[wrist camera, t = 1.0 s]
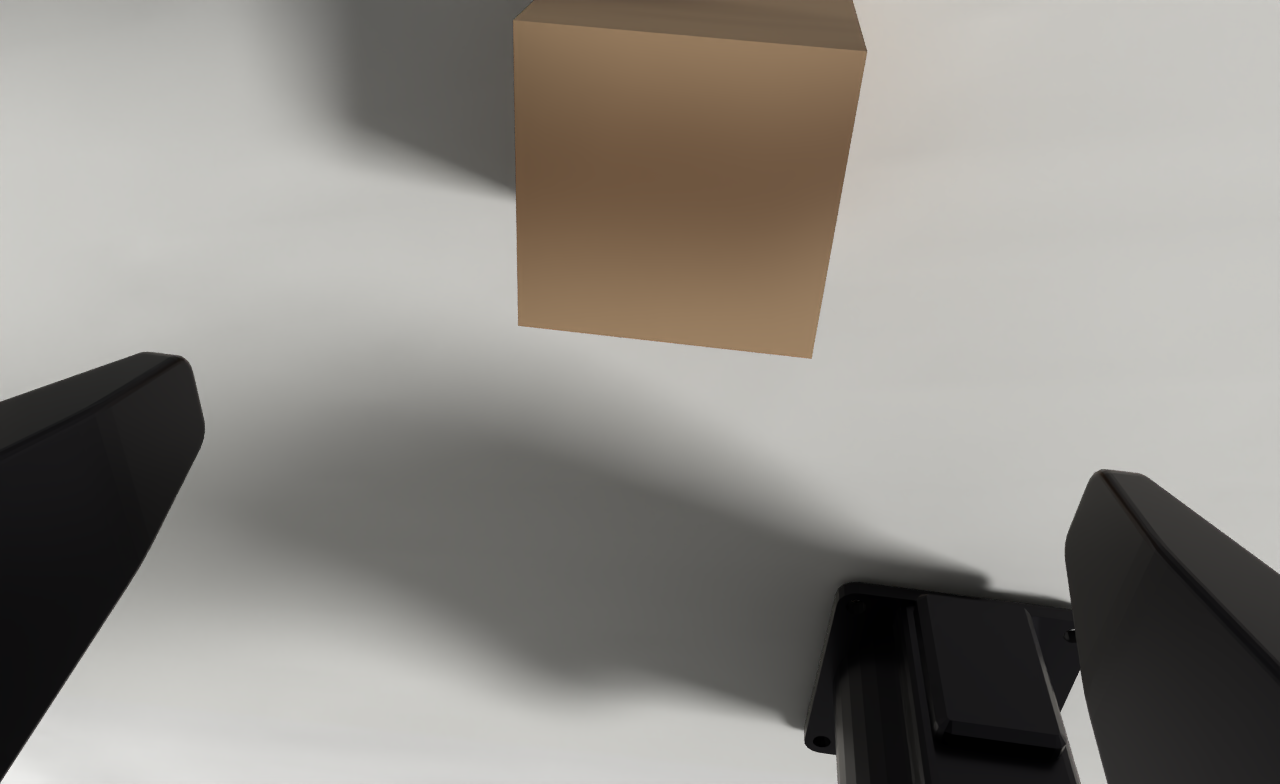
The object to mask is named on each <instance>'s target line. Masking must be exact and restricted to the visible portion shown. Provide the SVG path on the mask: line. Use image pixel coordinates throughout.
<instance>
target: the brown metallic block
mask: <svg viewBox="0 0 1280 784" xmlns="http://www.w3.org/2000/svg"><path fill="white" fill-rule="evenodd" d="M513 49H514V107H515V165H516V223H517V281H518V326H525V327H534V328H543V329H552V330H561V331H570V332H579V333H588V334H597V335H605V336H614V337H623V338H632V339H641V340H650V341H659V342H668V343H677V344H686V345H694V346H703V347H712V348H721V349H730V350H739V351H748V352H757V353H766V354H775V355H783V356H792V357H801V358H810V359H812V353H813V347H814V342H815V336H816V331H817V325H818V320H819V314H820V309H821V303H822V298H823V292H824V287H825V281H826V276H827V270H828V265H829V259H830V254H831V248H832V243H833V237H834V232H835V226H836V221H837V215H838V209H839V204H840V198H841V193H842V187H843V182H844V176H845V171H846V165H847V160H848V154H849V149H850V143H851V138H852V132H853V127H854V121H855V116H856V110H857V105H858V99H859V94H860V88H861V83H862V77H863V71H864V66H865V60H866V55H867V49H866V46H865V42H864V39H863V35H862V32H861V28H860V25H859V21H858V18H857V14H856V11H855V7H854V4H853V0H534V1H533V2H532V3H531V4H530V5H529V6H528V7H527V8H525V9H524V10H523V11H522V12H521V13H520V14H519V15H518V16H517V17H516V18H515V19H514V20H513Z"/></svg>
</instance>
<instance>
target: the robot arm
mask: <svg viewBox="0 0 1280 784" xmlns="http://www.w3.org/2000/svg"><path fill="white" fill-rule="evenodd" d="M204 433H205V423H204V417H203V413H202V409H201V404H200V400H199V396H198V391H197V387H196V383H195V378H194V374H193V370H192V367H191V365H190V364H189V362H188V361H187V360H186V359H185V358H183V357H182V356H179V355H171V354H163V353H155V352H141V353H138V354H135V355H132V356H129V357H127V358H124V359H121V360H118V361H115V362H112V363H109V364H107V365H104V366H101V367H98V368H95V369H92V370H89V371H87V372H84V373H81V374H78V375H75V376H72V377H69V378H67V379H64V380H61V381H58V382H55V383H52V384H49V385H47V386H44V387H41V388H38V389H35V390H32V391H30V392H27V393H24V394H21V395H18V396H15V397H12V398H10V399H7V400H4V401H1V402H0V782H1V781H2V779H3V778H4V776H5V775H6V773H7V772H8V770H9V769H10V767H11V765H12V764H13V762H14V761H15V759H16V758H17V756H18V755H19V753H20V752H21V750H22V749H23V747H24V745H25V744H26V742H27V741H28V739H29V738H30V736H31V735H32V733H33V732H34V730H35V729H36V727H37V725H38V724H39V722H40V721H41V719H42V718H43V716H44V715H45V713H46V712H47V710H48V709H49V707H50V705H51V704H52V702H53V701H54V699H55V698H56V696H57V695H58V693H59V692H60V690H61V689H62V687H63V685H64V684H65V682H66V681H67V679H68V678H69V676H70V675H71V673H72V672H73V670H74V669H75V667H76V665H77V664H78V662H79V661H80V659H81V658H82V656H83V655H84V653H85V652H86V650H87V649H88V647H89V645H90V644H91V642H92V641H93V639H94V638H95V636H96V635H97V633H98V632H99V630H100V629H101V627H102V625H103V624H104V622H105V621H106V619H107V618H108V616H109V615H110V613H111V612H112V610H113V609H114V607H115V605H116V604H117V602H118V601H119V599H120V598H121V596H122V595H123V593H124V592H125V590H126V589H127V587H128V585H129V584H130V582H131V581H132V579H133V577H134V576H135V574H136V572H137V571H138V569H139V567H140V566H141V564H142V562H143V560H144V558H145V557H146V555H147V553H148V551H149V549H150V548H151V546H152V544H153V542H154V540H155V538H156V536H157V534H158V532H159V530H160V528H161V526H162V524H163V522H164V520H165V518H166V516H167V514H168V512H169V510H170V508H171V506H172V504H173V502H174V500H175V498H176V496H177V494H178V492H179V490H180V488H181V486H182V484H183V482H184V480H185V478H186V476H187V474H188V472H189V470H190V468H191V466H192V464H193V462H194V460H195V458H196V456H197V454H198V452H199V450H200V448H201V445H202V442H203V439H204ZM1065 563H1066V570H1067V577H1068V584H1069V591H1070V598H1071V605H1072V610H1070V609H1062V608H1054V607H1046V606H1039V605H1031V604H1023V603H1015V602H1008V601H1000V600H992V599H984V598H977V597H969V596H961V595H953V594H946V593H938V592H930V591H922V590H915V589H907V588H899V587H891V586H884V585H876V584H868V583H861V582H850V583H847V584H844V585H843V586H841V587H840V588H839V589H838V591H837V592H836V595H835V599H834V604H833V608H832V612H831V616H830V621H829V625H828V629H827V633H826V638H825V642H824V646H823V650H822V654H821V659H820V663H819V667H818V671H817V676H816V680H815V684H814V688H813V693H812V697H811V701H810V705H809V710H808V714H807V718H806V722H805V727H804V740H805V745H806V746H807V747H808V748H809V749H811V750H812V751H816V752H819V753H826V754H833V755H836V760H837V778H838V784H1081V782H1080V779H1079V775H1078V772H1077V769H1076V765H1075V762H1074V758H1073V755H1072V751H1071V748H1070V745H1069V741H1068V738H1067V734H1066V731H1065V727H1064V724H1063V721H1062V717H1061V714H1060V712H1061V710H1062V708H1063V705H1064V703H1065V701H1066V699H1067V697H1068V694H1069V692H1070V690H1071V688H1072V686H1073V684H1074V681H1075V679H1076V677H1077V675H1078V673H1079V671H1080V670H1081V676H1082V682H1083V688H1084V694H1085V699H1086V703H1087V707H1088V712H1089V716H1090V720H1091V724H1092V727H1093V731H1094V735H1095V739H1096V742H1097V746H1098V750H1099V754H1100V757H1101V761H1102V765H1103V768H1104V772H1105V776H1106V780H1107V783H1108V784H1280V574H1279V573H1277V572H1276V571H1274V570H1273V569H1272V568H1270V567H1269V566H1268V565H1266V564H1265V563H1264V562H1262V561H1261V560H1259V559H1258V558H1257V557H1255V556H1254V555H1253V554H1251V553H1250V552H1249V551H1247V550H1246V549H1245V548H1243V547H1242V546H1240V545H1239V544H1238V543H1236V542H1235V541H1234V540H1232V539H1231V538H1230V537H1228V536H1227V535H1225V534H1224V533H1223V532H1221V531H1220V530H1219V529H1217V528H1216V527H1215V526H1213V525H1212V524H1211V523H1209V522H1208V521H1206V520H1205V519H1204V518H1202V517H1201V516H1200V515H1198V514H1197V513H1196V512H1194V511H1193V510H1191V509H1190V508H1189V507H1187V506H1186V505H1185V504H1183V503H1182V502H1181V501H1179V500H1178V499H1177V498H1175V497H1174V496H1172V495H1171V494H1170V493H1168V492H1167V491H1166V490H1164V489H1163V488H1162V487H1160V486H1159V485H1158V484H1156V483H1155V482H1153V481H1152V480H1151V479H1149V478H1148V477H1146V476H1145V475H1142V474H1139V473H1133V472H1125V471H1116V470H1108V469H1101V470H1099V471H1097V472H1095V473H1094V474H1093V476H1092V477H1091V478H1090V480H1089V482H1088V484H1087V486H1086V489H1085V491H1084V494H1083V496H1082V499H1081V501H1080V504H1079V506H1078V509H1077V511H1076V514H1075V516H1074V518H1073V521H1072V523H1071V526H1070V528H1069V531H1068V534H1067V537H1066V542H1065ZM852 600H859V601H861V602H859V603H851V602H850V601H852ZM1070 629H1075V630H1073V631H1068V630H1070Z"/></svg>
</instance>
